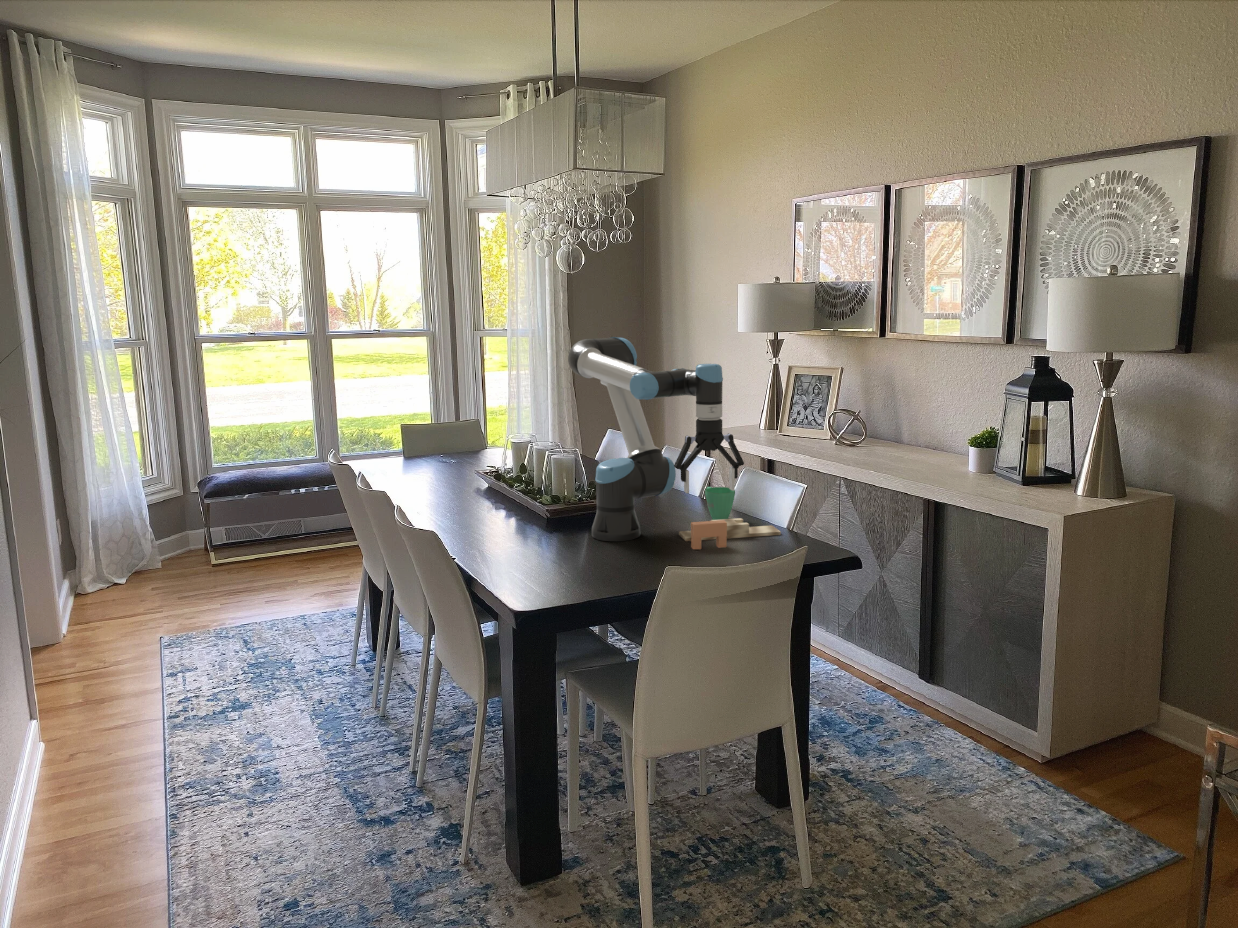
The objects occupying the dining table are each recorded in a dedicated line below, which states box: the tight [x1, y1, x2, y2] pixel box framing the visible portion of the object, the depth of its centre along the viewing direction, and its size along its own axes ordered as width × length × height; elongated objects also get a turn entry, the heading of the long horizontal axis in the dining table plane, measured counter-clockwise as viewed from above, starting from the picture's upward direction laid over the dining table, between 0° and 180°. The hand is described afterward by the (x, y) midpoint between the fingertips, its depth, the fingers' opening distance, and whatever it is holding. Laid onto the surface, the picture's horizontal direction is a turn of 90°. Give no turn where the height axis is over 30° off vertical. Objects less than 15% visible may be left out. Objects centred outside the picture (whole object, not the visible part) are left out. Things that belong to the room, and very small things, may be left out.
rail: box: [678, 517, 782, 542], centre depth 283 cm, size 30×8×4 cm, turn 100°
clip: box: [690, 520, 728, 550], centre depth 270 cm, size 10×3×8 cm, turn 100°
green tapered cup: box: [704, 486, 736, 520], centre depth 303 cm, size 15×10×10 cm
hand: (709, 491), depth 267 cm, fingers open, 13 cm apart
